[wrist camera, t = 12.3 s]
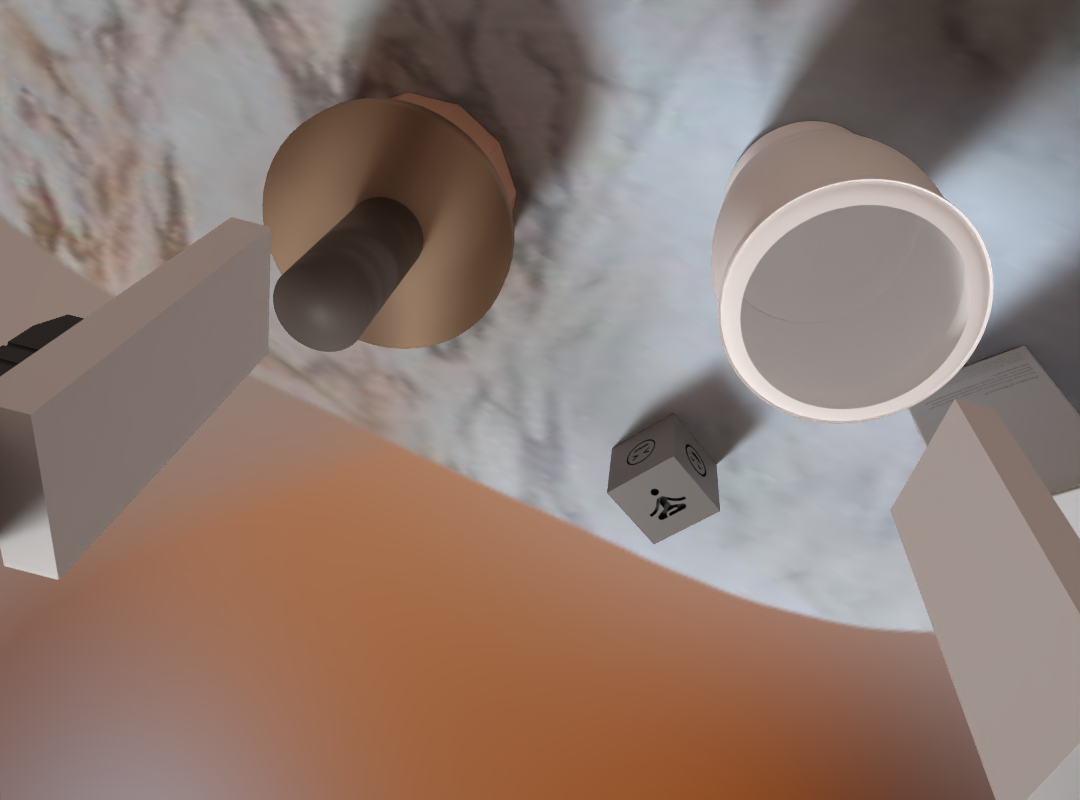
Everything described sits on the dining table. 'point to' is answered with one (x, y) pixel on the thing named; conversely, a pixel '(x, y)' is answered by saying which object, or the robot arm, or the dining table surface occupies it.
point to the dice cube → (663, 479)
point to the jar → (844, 276)
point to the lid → (384, 227)
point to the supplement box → (1019, 418)
